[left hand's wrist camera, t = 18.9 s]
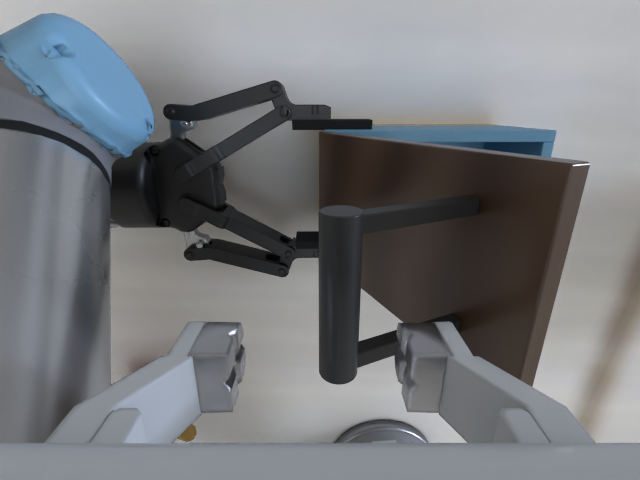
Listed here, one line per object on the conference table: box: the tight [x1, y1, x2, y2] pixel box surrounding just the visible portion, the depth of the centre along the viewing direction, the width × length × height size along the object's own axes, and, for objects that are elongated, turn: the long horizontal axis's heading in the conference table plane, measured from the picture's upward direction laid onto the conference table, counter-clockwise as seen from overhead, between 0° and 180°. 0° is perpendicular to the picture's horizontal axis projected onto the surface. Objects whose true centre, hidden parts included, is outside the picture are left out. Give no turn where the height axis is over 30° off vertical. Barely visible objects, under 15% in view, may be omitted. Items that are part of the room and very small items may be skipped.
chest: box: [323, 125, 557, 157], centre depth 34 cm, size 18×10×11 cm, turn 90°
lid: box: [319, 132, 590, 387], centre depth 19 cm, size 18×10×8 cm
